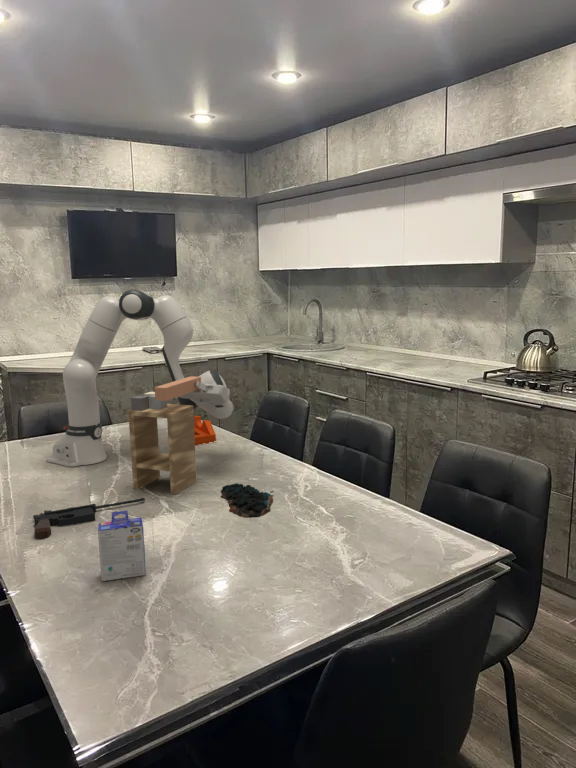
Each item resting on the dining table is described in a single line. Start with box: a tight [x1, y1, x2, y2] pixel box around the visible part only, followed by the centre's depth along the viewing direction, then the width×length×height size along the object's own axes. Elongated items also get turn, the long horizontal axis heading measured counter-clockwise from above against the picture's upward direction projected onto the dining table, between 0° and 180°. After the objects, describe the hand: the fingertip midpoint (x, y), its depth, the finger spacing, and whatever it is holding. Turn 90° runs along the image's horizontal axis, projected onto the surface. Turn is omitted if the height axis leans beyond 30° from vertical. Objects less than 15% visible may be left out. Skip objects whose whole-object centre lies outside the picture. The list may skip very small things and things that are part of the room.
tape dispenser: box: [194, 415, 217, 446], centre depth 251 cm, size 18×13×8 cm
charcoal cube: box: [130, 395, 149, 411], centre depth 189 cm, size 4×4×4 cm
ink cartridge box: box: [97, 510, 146, 582], centre depth 135 cm, size 10×6×14 cm, turn 107°
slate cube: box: [149, 395, 168, 410], centre depth 191 cm, size 4×4×4 cm
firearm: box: [32, 497, 146, 540], centre depth 168 cm, size 32×3×15 cm
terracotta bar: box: [154, 375, 201, 402], centre depth 193 cm, size 4×22×4 cm, turn 159°
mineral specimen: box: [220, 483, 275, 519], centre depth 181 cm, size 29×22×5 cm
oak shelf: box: [127, 403, 197, 495], centre depth 193 cm, size 16×13×26 cm
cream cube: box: [143, 391, 155, 406], centre depth 196 cm, size 4×4×4 cm
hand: (188, 383), depth 199 cm, fingers closed on terracotta bar, 4 cm apart
